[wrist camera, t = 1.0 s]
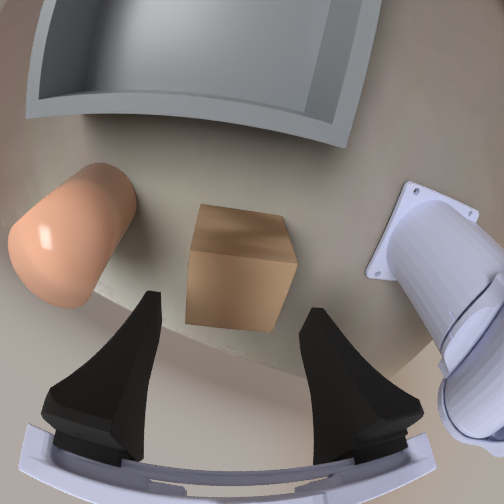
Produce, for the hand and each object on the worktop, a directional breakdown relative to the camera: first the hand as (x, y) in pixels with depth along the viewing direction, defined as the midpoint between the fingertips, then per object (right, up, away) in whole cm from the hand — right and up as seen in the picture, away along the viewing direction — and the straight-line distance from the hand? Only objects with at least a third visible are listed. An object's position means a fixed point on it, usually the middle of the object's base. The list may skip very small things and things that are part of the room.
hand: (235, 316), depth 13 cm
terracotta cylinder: (-9, +6, +2) cm, 11 cm away
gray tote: (-1, +18, -5) cm, 18 cm away
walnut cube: (0, +4, +5) cm, 6 cm away
